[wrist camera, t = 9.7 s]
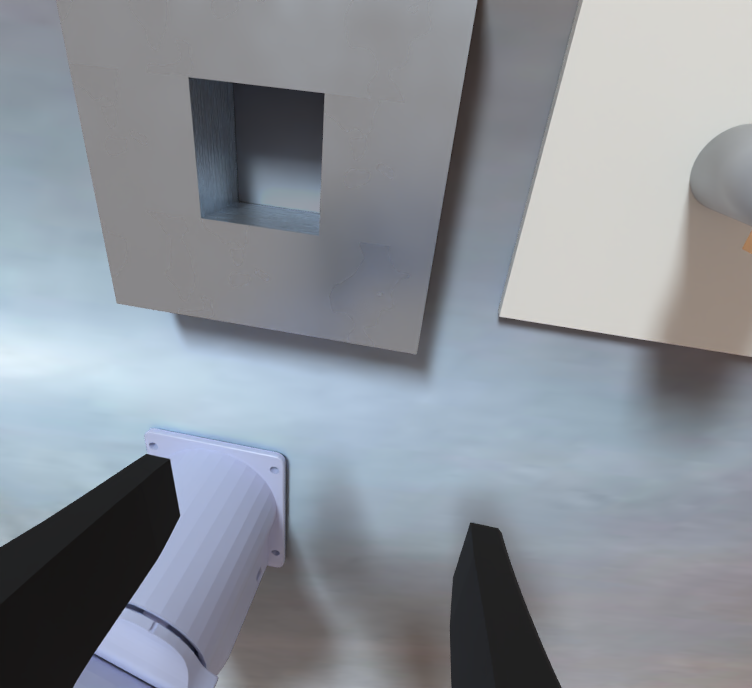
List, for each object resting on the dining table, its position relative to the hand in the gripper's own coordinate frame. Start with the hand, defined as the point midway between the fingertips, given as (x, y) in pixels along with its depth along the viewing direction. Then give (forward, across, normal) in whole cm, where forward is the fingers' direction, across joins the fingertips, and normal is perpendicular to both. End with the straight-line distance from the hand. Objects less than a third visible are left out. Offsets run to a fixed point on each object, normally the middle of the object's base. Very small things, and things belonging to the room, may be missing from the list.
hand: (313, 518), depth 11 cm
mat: (+11, -11, -8) cm, 17 cm away
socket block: (+10, +4, -6) cm, 13 cm away
